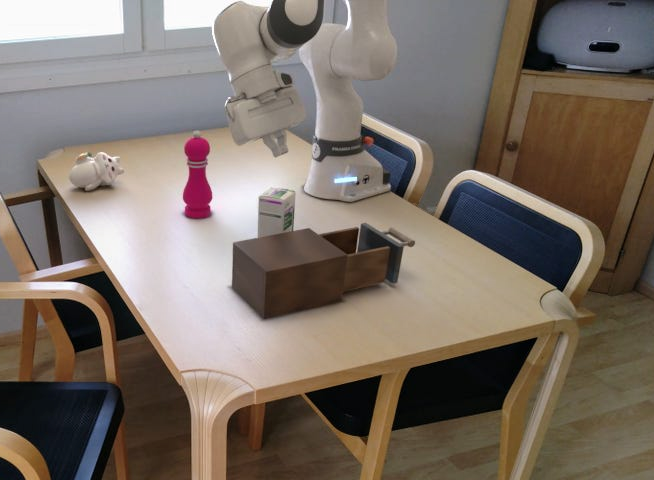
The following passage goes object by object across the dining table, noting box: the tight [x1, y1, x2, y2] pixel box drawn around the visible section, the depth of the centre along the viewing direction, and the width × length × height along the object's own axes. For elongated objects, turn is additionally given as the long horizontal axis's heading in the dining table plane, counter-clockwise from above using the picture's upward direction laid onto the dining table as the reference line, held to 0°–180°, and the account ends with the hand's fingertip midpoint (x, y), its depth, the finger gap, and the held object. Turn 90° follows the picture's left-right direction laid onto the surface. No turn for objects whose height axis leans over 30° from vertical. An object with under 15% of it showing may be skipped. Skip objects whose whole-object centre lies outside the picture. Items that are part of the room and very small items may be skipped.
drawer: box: [317, 222, 416, 293], centre depth 133 cm, size 20×12×8 cm, turn 111°
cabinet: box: [231, 227, 348, 320], centre depth 128 cm, size 17×14×10 cm
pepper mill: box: [182, 130, 213, 219], centre depth 160 cm, size 7×7×20 cm
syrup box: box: [257, 186, 296, 238], centre depth 140 cm, size 6×6×14 cm
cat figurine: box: [68, 151, 125, 192], centre depth 182 cm, size 10×8×15 cm
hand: (281, 155), depth 138 cm, fingers closed
